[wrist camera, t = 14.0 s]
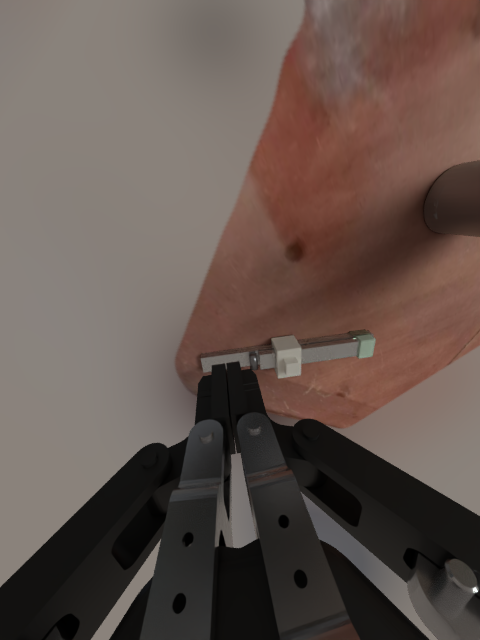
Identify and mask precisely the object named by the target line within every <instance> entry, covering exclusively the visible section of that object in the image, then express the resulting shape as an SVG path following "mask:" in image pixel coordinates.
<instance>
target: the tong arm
mask: <svg viewBox="0 0 480 640" xmlns="http://www.w3.org/2000/svg"><path fill="white" fill-rule="evenodd" d="M375 340H376V339H375V338H374V337H372V336H371V335H363V336H356V338H351V339H344V340H337V341H330V342H323V343H315V344H308V345H301V348H302V349H301V364H304V363H311V362H318V361H325V360H332V359H339V358H346V357H353V356H357V357H358V358H366V357H372V356H373V351H374V345H375ZM258 354H259V366H260V369H268V368H275V367H276V352H275V350H274V349H272V350H265V351H258Z"/></svg>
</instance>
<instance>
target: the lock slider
mask: <svg viewBox="0 0 480 640" xmlns="http://www.w3.org/2000/svg"><path fill="white" fill-rule="evenodd" d="M271 342H272V345H273V347H274V350H275V352H276V367H275V368H274V369H275V372H276V374H277V377H278V378H284V377H291V376H298V375H301V349H302V348H301V346H300V344H299V343H298V341H297V340H296V338H295V337H294V335H291V336H283V337H276V338H271Z"/></svg>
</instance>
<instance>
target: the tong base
mask: <svg viewBox="0 0 480 640" xmlns="http://www.w3.org/2000/svg"><path fill="white" fill-rule="evenodd" d="M363 335H371V336H372V337H373V335H374V334H373V333H371V332H370V331H369V330H367V331H366V330H365V329H364V330H357V331H350V332H349V333H345V334H338V335H331V336H324V337H317V338H310V339H302V340H297V341H298V343H299V344H300V346H301V345H308V344H315V343H323V342H330V341H337V340H344V339H351V338H356V336H363ZM272 349H274V347H273V345H272V344H267V345H260V346H252V347H245V348H238V349H231V350H224V351H217V352H210V353H202V354H201V363H202V368H203V372H210V371H212V365H216V364H223V363H225V365H226V363H229V362H236V361H240V367H245V366H250V369H251V370H257V369H258V365H259V354H258V351H265V350H272ZM226 369H227V366H226Z"/></svg>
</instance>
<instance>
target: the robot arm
mask: <svg viewBox="0 0 480 640" xmlns="http://www.w3.org/2000/svg"><path fill="white" fill-rule="evenodd" d="M424 218H425V222H426V224H427V225H428V227H429V228H430V229H431V230H432V231H434V232H437V233H444V234H455V235H464V236H475V237H480V160H477V161H472V162H467V163H462V164H459V165H456V166H454V167H452V168H450V169H448V170H447V171H446V172H444V173H443V174H442V175H441V176H440V177H439V178H438V179H437V180H436V181H435V183H434V184H433V186H432V187H431V189H430V191H429V193H428V195H427V198H426V201H425V206H424ZM226 366H227V371H226ZM196 406H197V407H196V417H195V426H194V427H193V428H192V429H191V431H190V433H189V436H188V437H187V438H186V439H185V440H183V441H182V442H180V443H178V444H176V445H173V446H171V447H169V448H167V447H166V446H165V445H164V444H161V443H152V444H149V445H147V446H145V447H143V448H142V449H141V450H140V451H138V452H137V453H136V454H135V455H134V456H133V457H132V458H131V459H130V460H129V461H128V462H127V463H126V464H125V465H124V466H123V467H122V468H121V469H120V470H119V471H118V472H117V473H116V474H115V475H114V476H113V477H112V478H111V479H110V480H109V481H108V482H107V483H106V484H105V485H104V486H103V487H102V488H101V489H100V490H99V491H98V492H97V493H96V494H95V495H94V496H93V497H92V498H90V500H89V501H87V502H86V504H84V506H83V507H81V508H80V509H79V510H78V511H77V512H76V513H75V514H74V515H73V516H72V517H71V518H70V519H69V520H68V521H67V522H66V523H65V524H64V525H63V526H62V527H61V528H60V529H59V530H58V531H57V532H56V533H55V534H54V535H53V536H52V537H51V538H50V539H49V540H48V541H47V542H46V543H45V544H44V545H43V546H42V547H41V548H40V549H39V550H38V551H37V552H36V553H35V554H34V555H33V556H32V557H31V558H30V559H29V560H28V561H26V562H25V564H24V565H23V566H22V567H20V569H18V570H17V571H16V573H14V574H13V575H12V576H11V577H10V578H9V579H8V580H7V581H6V582H5V583H4V584H3V585H2V586H1V587H0V640H91V638H92V637H93V635H94V634H95V632H96V631H97V630H98V628H99V627H100V625H101V624H102V622H103V621H104V619H105V618H106V616H107V615H108V614H109V612H110V611H111V609H112V608H113V607H114V605H115V604H116V602H117V600H118V599H119V598H120V597H121V595H122V594H123V592H124V591H125V589H126V588H127V586H128V585H129V584H130V582H131V581H132V579H133V578H134V576H135V575H136V574H137V572H138V570H139V569H140V568H141V566H142V565H143V564H144V562H145V561H146V559H147V558H148V556H149V555H150V553H151V552H152V551H153V549H154V548H155V546H156V545H157V543H158V542H159V541H160V539H161V542H160V547H159V552H158V556H157V561H156V566H155V570H154V575H153V577H152V578H151V579H150V580H149V581H148V583H147V584H146V585H145V586H144V587H143V589H142V590H141V591H140V593H139V594H138V595H137V597H136V598H135V600H134V601H133V603H132V604H131V606H130V607H129V609H128V611H127V612H126V614H125V615H124V617H123V619H122V620H121V622H120V623H119V625H118V626H117V628H116V630H115V631H114V633H113V634H112V636H111V638H110V639H109V640H429V639H428V638H427V637H426V636H425V635H424V634H423V633H422V632H421V631H420V630H419V629H418V628H417V627H416V626H415V625H414V624H413V623H412V622H411V621H410V620H409V619H408V618H407V617H406V616H405V615H404V614H403V613H402V612H401V611H400V610H399V609H398V608H397V607H396V606H395V605H394V604H393V603H392V602H391V601H390V600H389V599H388V598H387V597H386V596H385V595H384V594H383V593H382V592H381V591H380V590H379V589H378V588H377V587H376V586H375V585H374V584H373V583H372V582H371V581H370V580H369V579H368V578H367V577H366V576H365V575H364V574H363V573H362V572H361V571H360V570H359V569H358V568H357V567H356V566H355V565H354V564H353V563H352V562H351V561H350V560H349V559H348V558H347V557H345V556H344V555H343V554H342V553H341V552H339V551H338V550H337V549H336V548H334V547H332V546H331V545H329V544H327V543H326V542H323V541H321V540H319V538H318V536H317V533H316V531H315V528H314V525H313V523H312V520H311V517H310V515H309V512H308V510H307V507H306V504H305V502H304V499H303V497H302V494H301V492H302V493H303V494H304V495H305V496H307V497H308V498H309V499H310V500H311V501H312V502H314V503H315V504H316V505H317V506H318V507H319V508H321V509H322V510H323V511H324V512H325V513H326V514H327V515H329V516H330V517H331V518H332V519H334V521H336V522H337V523H338V524H339V525H340V526H341V527H343V528H344V529H345V530H346V531H347V532H349V533H350V534H351V535H352V536H353V537H354V538H355V539H356V540H358V541H359V542H360V543H361V544H362V545H363V546H365V547H366V548H367V549H368V550H369V551H370V552H372V553H373V554H374V555H375V556H376V557H377V558H379V559H380V560H381V561H382V562H383V563H384V564H385V565H387V566H388V567H389V568H390V569H391V570H392V571H394V572H395V573H396V574H397V575H398V576H399V577H401V578H402V579H403V580H404V581H405V582H406V583H407V584H408V592H409V596H410V599H411V602H412V604H413V607H414V609H415V611H416V613H417V614H418V616H419V617H420V619H421V620H422V622H423V623H424V624H425V626H426V627H427V628H428V629H429V630H430V631H431V632H432V633H433V635H434V636H435V637H436V638H437V639H438V640H480V516H478V515H477V514H475V513H473V512H472V511H470V510H468V509H467V508H465V507H463V506H461V505H460V504H458V503H456V502H455V501H453V500H451V499H450V498H448V497H446V496H445V495H443V494H441V493H439V492H438V491H436V490H434V489H433V488H431V487H429V486H428V485H426V484H424V483H422V482H421V481H419V480H417V479H416V478H414V477H412V476H410V475H409V474H407V473H406V472H404V471H402V470H401V469H399V468H397V467H395V466H394V465H392V464H390V463H389V462H387V461H385V460H384V459H382V458H380V457H378V456H377V455H375V454H373V453H372V452H370V451H368V450H367V449H365V448H363V447H362V446H360V445H358V444H356V443H354V442H353V441H351V440H349V439H348V438H346V437H345V436H343V435H341V434H340V433H338V432H336V431H334V430H333V429H331V428H329V427H328V426H326V425H324V424H323V423H321V422H319V421H317V420H314V419H303V420H300V421H298V422H297V423H296V424H295V425H294V427H293V426H285V425H280V424H277V423H275V422H274V421H272V420H271V419H270V418H269V417H268V415H267V413H266V410H265V406H264V403H263V399H262V395H261V391H260V388H259V384H258V380H257V376H256V374H255V373H254V372H253V371H252V370H251V369H247V370H241V367H240V361H236V362H229V363H226V365H225V363H223V364H216V365H212V375H208V376H203V377H202V379H201V380H200V382H199V383H198V394H197V405H196ZM234 438H235V442H234ZM235 443H236V450H237V453H241V458H242V464H243V470H244V476H245V481H246V486H247V491H248V496H249V501H250V507H251V512H252V517H253V523H254V527H255V534H256V540H255V541H253V542H251V543H249V544H247V545H246V546H244V547H242V548H233V541H232V528H231V454H235Z"/></svg>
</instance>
